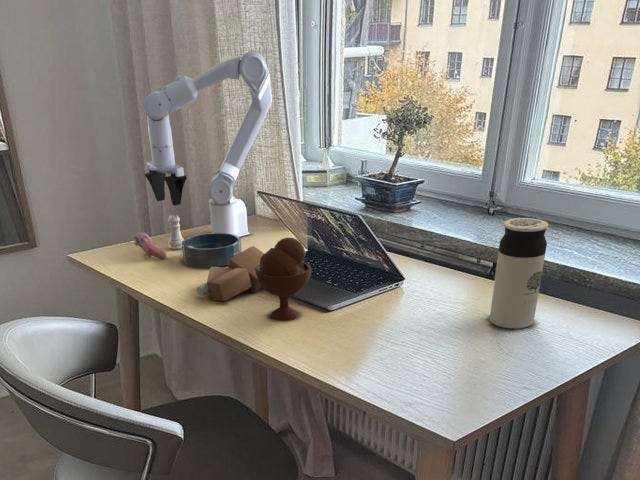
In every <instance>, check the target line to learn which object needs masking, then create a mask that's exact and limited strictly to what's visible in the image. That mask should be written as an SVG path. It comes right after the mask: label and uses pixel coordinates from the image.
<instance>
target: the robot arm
mask: <svg viewBox="0 0 640 480" xmlns="http://www.w3.org/2000/svg"><path fill="white" fill-rule="evenodd" d="M240 76H241V78H242V79H243V81H244V83H245V84H246V86H247V87H248V91H249V93H250V94H249V95H250V97H251V102H250V104H249V106H248V108H247V110H246V113H245V114H244V117H243V119H242V121H241V123H240V125H239V128H238V129H237V131H236V134H235V136H234V138H233V140H232V142H231V145H230V146H229V150H228V151H227V153H226V155H225V158H224V160H223V162H222V163H221V165H220V167H219V169H218V170H217V172H215V173H214V174H213V175H212V176H211V178H210V181H209V186H208V195H209V198H210V199H209V200H208V207H209V218H210V227H211V228H210V229H211V233H228V234H234V235H237V236H239V237H240V238H241V237H244V236H247V235H250V231H249V230H248V213H247V208H246V204H245V203H244V201H243V200H242V199H240V198H237V197H235V196H234V186H235V182H236V180H237V178H238V176H239V173H240V170H241V168H242V166H243V164H244V162H245V160H246V158H247V156H248V153H249V151H250V150H251V147H252V145H253V143H254V141H255V139H256V137H257V136H258V134H259V131H260V129H261V127H262V125H263V122H264V120H265V119H266V117H267V114H268V112H269V110H270V108H271V106H272V103H273V96H272V87H271V84H272V83H271V75H270V71H269V68H268V65H267V62H266V60H265V58H264V56H263V55H262V54H261V53H260V52H258V51H255V50H249V51H247V52H246V53H244V54H243V56H242V54H239V55H236V56H233V57H230V58H228V59H226V60H224V61H221V62H220V63H218V64H216V65H215V66H213V67H211V68H209V69H207V70H206V71H204V72H202V73H200V74H198V75H197V76H195V77H194V78H192V77H189V76H187V75H183V76H181V75H178V76H176V77H175V78H174V81H172V82H170V83H169V84H167V85H164V86H162V85H160V86H158V87H157V90H158V91H153V92H151V93H149V94H148V95H147V96H146V97H145V99H144V101H143V110H144V113H145V114H146V115H147V116H146V117H147V118H146V121H147V131H148V139H149V146H150V147H149V148H150V156H151V161H147V162H145V166H146V171H148V172H145V173H144V177H145V178H146V179H147V181H148V182H149V184H150V187H151V189H152V191H153V194H154V197H155V199H156V201H157V202H162V201H165V200H166V189H165V187H166V186H165V184H166V185H167V188H168V192H169V195H170V200H171V203H172V206H175V207H176V206H179V205H181V204H182V197H183V191H184V187H185V183H186V181H187V179H188V178H187V175H185V171H184V167H182V166H180V165H178V164H177V163H176V159H175V151H174V142H173V133H172V125H171V123H170V115H169V112H173V113H174V112H176V111H178V110H180V109H182V108H184V107H185V106H186V107H187V106H188V105H190V104H191V103H194V102H196V100H197V97H198V94H199V92H202V91H203V90H206V89H208V88H210V87H212V86H214V85H216V84H218V83H220V82H222V81H225V80H226V79H231V80H237V81H238V80H240ZM167 175H168V176H167Z"/></svg>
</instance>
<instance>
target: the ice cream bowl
mask: <svg viewBox="0 0 640 480" xmlns="http://www.w3.org/2000/svg"><path fill="white" fill-rule="evenodd" d="M305 258H306V251H305V247H304V245H303V244H302V242H301V241H299V240H298V239H296V238H293V237H284V238H281V239H280V240H278V241H277V242H276V244H275V245H274V247H270V248H269V250H267V251H266V252H265V253H264V255H263V256H262V257H261V258H260V265H258V266H257V267H255V272H256V276H257V278H258V281H259V283H260V285H261V286H262V287H263V288H262V289H264V291H266V292H267V293H269V294H271V295H273V296H276V297H278V299H279V306H278V307H277V308H276V309H274V310H273V311H271V313H270V317H271V319H273V320H277V321H291V320H295V319H296V318H297V317H299V313H298V311H297V309H295V308H293V307H291V306H290V303H289V302H290V301H289V299H290V297H291V296H293V295H295V294H297V293H298V292H299V291H300V290H302V289H303V288H304V287H305V286H306V285H307V284H308V282H309V280H310V278H311V275H312V270H313V268H312V266H311V264H310V263H309V262H306V261H304V260H305Z"/></svg>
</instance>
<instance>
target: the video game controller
mask: <svg viewBox="0 0 640 480" xmlns="http://www.w3.org/2000/svg"><path fill="white" fill-rule="evenodd" d="M133 239H134V242H133V243H134V245H135V247H140V249H141V250H142V252H143V253H144V255H145V256H146V257H148V258H149V259H151V258H152V257H154V258H156V259H159V260H164V259H165V258H166V257H167V252H166V251H165V250H164V249H163V248H162V247H160V246H158V245H157V244H156V243H155V241H154V240H152V239H151V238H150V236H149V234H147V233H146V232H141V231H140V232H138V233H136V234H134V236H133Z"/></svg>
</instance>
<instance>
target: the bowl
mask: <svg viewBox="0 0 640 480" xmlns="http://www.w3.org/2000/svg"><path fill="white" fill-rule="evenodd" d="M183 239H184V240H183V241H182V249H181V252H182V260H183V263H185V264H186V265H189V266H192V267H198V268H210V267H224V266H229V261H230V259H231V258H232V257H234V256H236V255H238V254H239V253H241V252H243V249H242V238H241V237H239V236H237V235H234V234H228V233H212V232H209V233H200V234H196V235H191V236H188V237H186V238H183Z"/></svg>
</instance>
